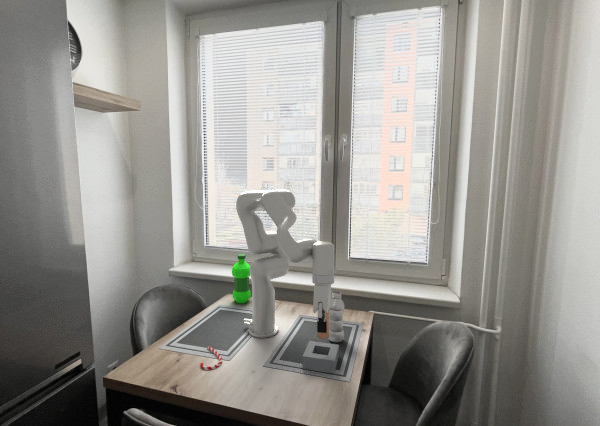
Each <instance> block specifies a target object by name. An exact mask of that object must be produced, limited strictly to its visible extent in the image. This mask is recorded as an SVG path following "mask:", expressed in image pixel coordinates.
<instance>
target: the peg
mask: <svg viewBox="0 0 600 426" xmlns="http://www.w3.org/2000/svg"><path fill="white" fill-rule="evenodd" d="M322 312H325V311H322ZM322 316H324V315H323V314H322ZM326 321H327V332H326V333H319V332H317V338H318V339H320V340H327V339H328V338H329V310H328V312H327V313H326ZM328 340H329V339H328Z"/></svg>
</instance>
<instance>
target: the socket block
mask: <svg viewBox="0 0 600 426" xmlns="http://www.w3.org/2000/svg"><path fill="white" fill-rule="evenodd" d="M339 351H340V345H339V344H336V343H329V342H321V341H314V340H309V341H308V343H307V345H306V347H305V351H304V352H303V355H302V361H301V363H302V365H301V366H302V369H303V370H311V371H315V372H316V371H317V372H322V373H329V374H335V372H336V369H337V364H338V360H339Z"/></svg>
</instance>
